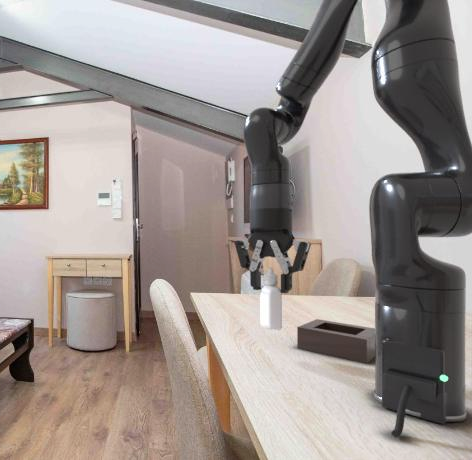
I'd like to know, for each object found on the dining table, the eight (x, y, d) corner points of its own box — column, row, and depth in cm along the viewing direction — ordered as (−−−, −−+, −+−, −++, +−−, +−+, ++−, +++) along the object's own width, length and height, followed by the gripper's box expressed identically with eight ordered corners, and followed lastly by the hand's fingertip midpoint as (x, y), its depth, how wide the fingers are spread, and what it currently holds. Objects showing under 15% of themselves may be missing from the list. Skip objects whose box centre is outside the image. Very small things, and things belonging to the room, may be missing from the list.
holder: (366, 363, 71) (366, 339, 71) (297, 348, 80) (297, 327, 80) (382, 351, 78) (382, 329, 78) (316, 338, 87) (316, 319, 87)
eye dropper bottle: (255, 327, 76) (255, 268, 77) (262, 323, 81) (261, 266, 81) (280, 331, 74) (280, 269, 74) (285, 326, 78) (285, 267, 78)
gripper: (226, 208, 81) (227, 288, 80) (303, 204, 70) (304, 297, 69) (243, 210, 85) (243, 286, 85) (317, 206, 74) (318, 293, 74)
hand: (270, 290), depth 77 cm, fingers closed on eye dropper bottle, 4 cm apart
